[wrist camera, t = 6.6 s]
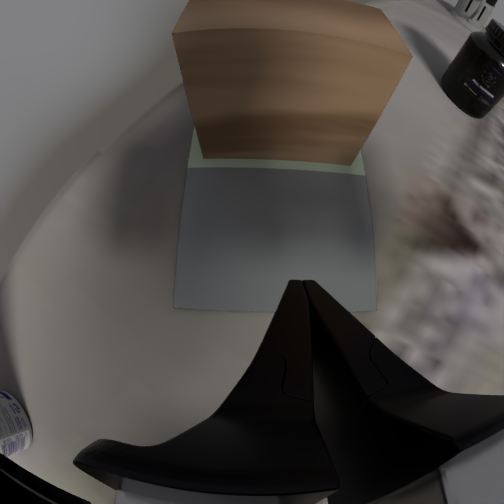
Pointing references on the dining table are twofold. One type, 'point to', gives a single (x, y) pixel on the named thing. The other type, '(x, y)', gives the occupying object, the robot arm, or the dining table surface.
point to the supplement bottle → (478, 72)
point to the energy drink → (13, 426)
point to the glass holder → (473, 12)
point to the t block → (287, 76)
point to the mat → (273, 233)
